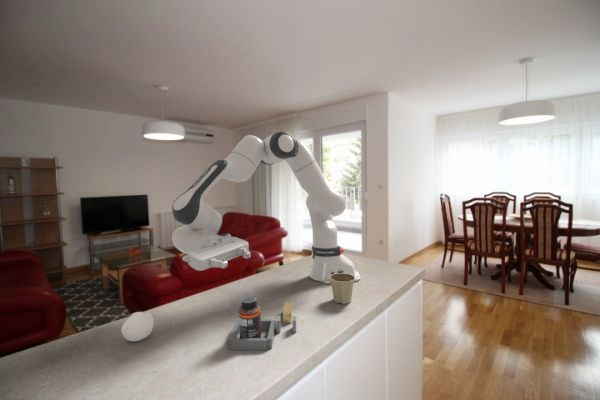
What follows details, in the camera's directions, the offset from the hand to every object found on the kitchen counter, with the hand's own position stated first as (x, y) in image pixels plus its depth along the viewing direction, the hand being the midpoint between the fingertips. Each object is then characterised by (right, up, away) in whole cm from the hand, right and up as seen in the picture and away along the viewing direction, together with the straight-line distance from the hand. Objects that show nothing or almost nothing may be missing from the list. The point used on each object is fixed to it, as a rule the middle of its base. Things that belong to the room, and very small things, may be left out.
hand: (237, 260), depth 84 cm
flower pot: (+34, -18, +17) cm, 42 cm away
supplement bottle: (+5, -20, -7) cm, 22 cm away
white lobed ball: (-26, -21, -6) cm, 34 cm away
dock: (+9, -20, -7) cm, 23 cm away
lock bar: (+15, -19, +5) cm, 25 cm away
